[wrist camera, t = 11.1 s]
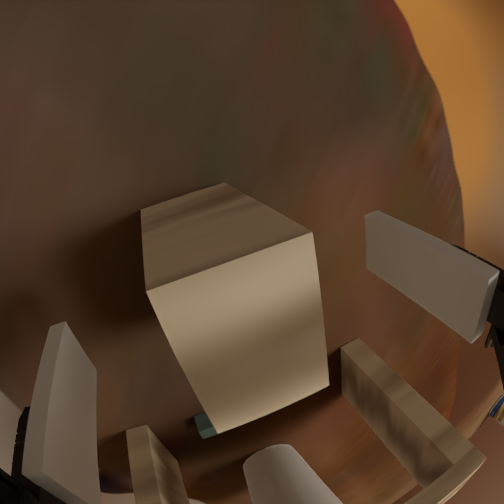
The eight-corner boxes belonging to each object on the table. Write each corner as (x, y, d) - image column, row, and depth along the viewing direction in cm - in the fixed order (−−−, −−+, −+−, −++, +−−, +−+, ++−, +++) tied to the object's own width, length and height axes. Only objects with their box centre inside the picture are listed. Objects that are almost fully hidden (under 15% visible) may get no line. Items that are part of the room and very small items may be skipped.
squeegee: (100, 224, 16) (67, 319, 8) (263, 171, 19) (375, 209, 10) (198, 423, 24) (233, 521, 15) (303, 381, 26) (364, 462, 18)
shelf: (125, 429, 22) (164, 611, 7) (358, 337, 27) (486, 458, 12) (159, 466, 25) (204, 610, 10) (357, 384, 30) (456, 492, 15)
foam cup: (214, 478, 28) (253, 573, 17) (258, 432, 27) (318, 539, 16) (276, 479, 33) (319, 555, 21) (321, 437, 32) (379, 518, 20)
